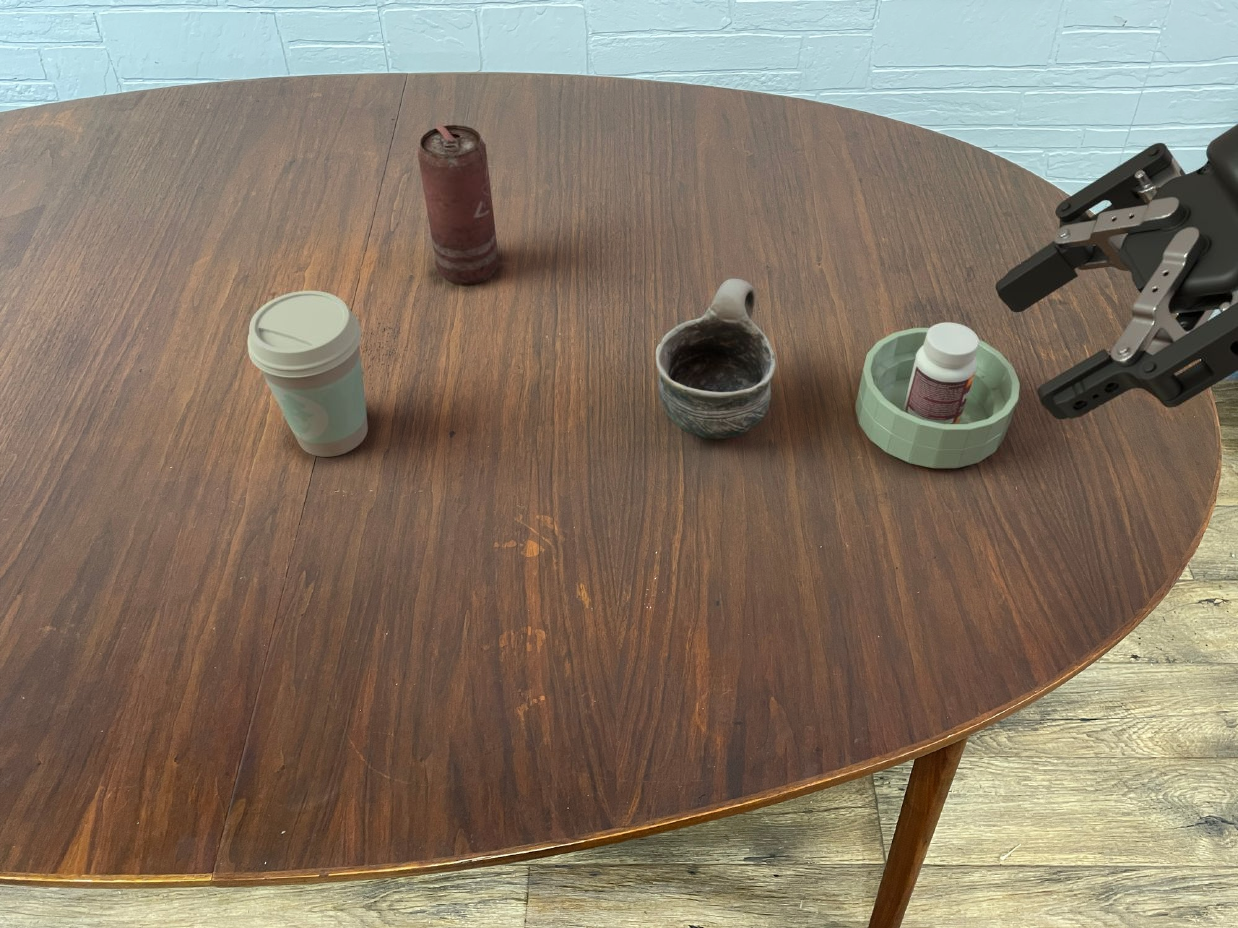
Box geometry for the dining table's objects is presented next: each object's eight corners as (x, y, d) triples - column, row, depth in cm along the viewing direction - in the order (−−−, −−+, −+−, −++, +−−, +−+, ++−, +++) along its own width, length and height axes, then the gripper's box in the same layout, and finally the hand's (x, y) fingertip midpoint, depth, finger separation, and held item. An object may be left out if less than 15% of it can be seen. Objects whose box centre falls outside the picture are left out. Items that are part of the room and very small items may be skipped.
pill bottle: (966, 435, 85) (991, 357, 79) (908, 435, 85) (929, 358, 79) (952, 395, 89) (976, 318, 83) (896, 396, 89) (916, 318, 83)
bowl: (983, 371, 92) (998, 327, 88) (1020, 472, 83) (1037, 428, 80) (844, 372, 92) (853, 328, 88) (867, 473, 83) (878, 429, 80)
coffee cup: (266, 422, 88) (225, 311, 79) (359, 384, 91) (330, 273, 83) (303, 485, 83) (265, 373, 74) (401, 442, 86) (375, 330, 78)
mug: (645, 450, 85) (646, 357, 78) (667, 352, 94) (670, 260, 87) (763, 464, 84) (775, 371, 77) (774, 363, 93) (787, 271, 85)
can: (474, 241, 106) (457, 113, 96) (511, 270, 103) (498, 140, 92) (424, 265, 103) (401, 136, 93) (460, 295, 100) (440, 164, 90)
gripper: (1253, 20, 49) (954, 230, 57) (1411, 181, 39) (1022, 407, 47) (1314, 124, 53) (1025, 307, 61) (1473, 295, 43) (1101, 485, 51)
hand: (1024, 350), depth 54 cm, fingers open, 8 cm apart
